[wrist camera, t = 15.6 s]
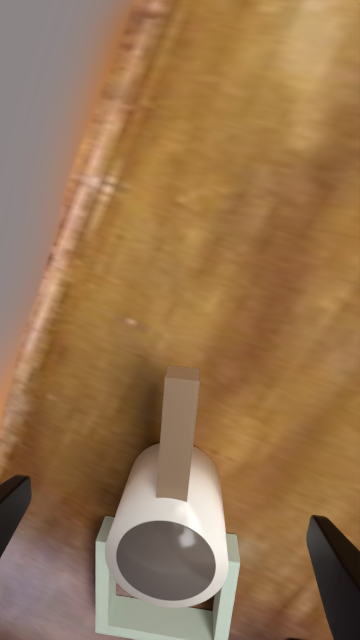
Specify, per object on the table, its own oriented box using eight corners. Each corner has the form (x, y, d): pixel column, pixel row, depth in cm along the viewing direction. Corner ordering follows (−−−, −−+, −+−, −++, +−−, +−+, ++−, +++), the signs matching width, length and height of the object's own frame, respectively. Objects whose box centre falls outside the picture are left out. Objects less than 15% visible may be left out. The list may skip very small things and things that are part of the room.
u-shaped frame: (236, 534, 22) (240, 562, 20) (223, 621, 25) (225, 655, 22) (105, 515, 23) (95, 540, 21) (104, 601, 25) (95, 632, 23)
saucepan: (215, 520, 22) (220, 619, 16) (129, 508, 23) (103, 598, 16) (238, 354, 19) (257, 395, 13) (137, 343, 19) (108, 378, 13)
